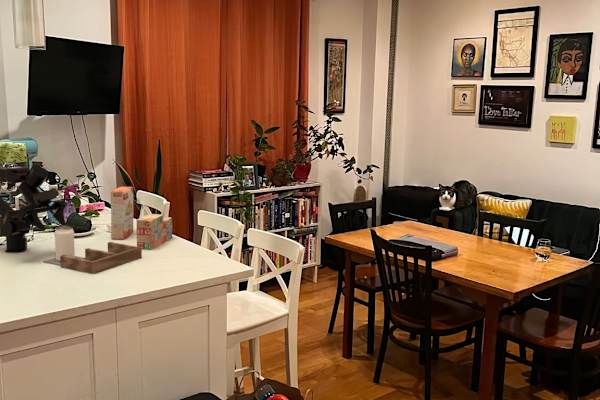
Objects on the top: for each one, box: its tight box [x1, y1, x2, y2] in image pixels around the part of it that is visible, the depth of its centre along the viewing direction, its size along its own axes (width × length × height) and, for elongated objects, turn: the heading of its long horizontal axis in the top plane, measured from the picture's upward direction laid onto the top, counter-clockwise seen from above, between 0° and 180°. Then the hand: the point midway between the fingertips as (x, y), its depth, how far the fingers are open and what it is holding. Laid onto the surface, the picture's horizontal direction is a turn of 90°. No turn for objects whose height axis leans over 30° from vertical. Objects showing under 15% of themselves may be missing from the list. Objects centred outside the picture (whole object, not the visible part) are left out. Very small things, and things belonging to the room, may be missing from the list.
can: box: [54, 225, 76, 262], centre depth 214 cm, size 6×6×12 cm
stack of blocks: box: [136, 213, 173, 251], centre depth 243 cm, size 21×6×12 cm, turn 169°
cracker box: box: [110, 186, 134, 240], centre depth 253 cm, size 14×6×21 cm, turn 179°
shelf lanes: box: [60, 241, 143, 275], centre depth 214 cm, size 16×24×4 cm, turn 154°
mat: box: [42, 255, 85, 267], centre depth 215 cm, size 10×11×1 cm
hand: (54, 228), depth 215 cm, fingers open, 9 cm apart
